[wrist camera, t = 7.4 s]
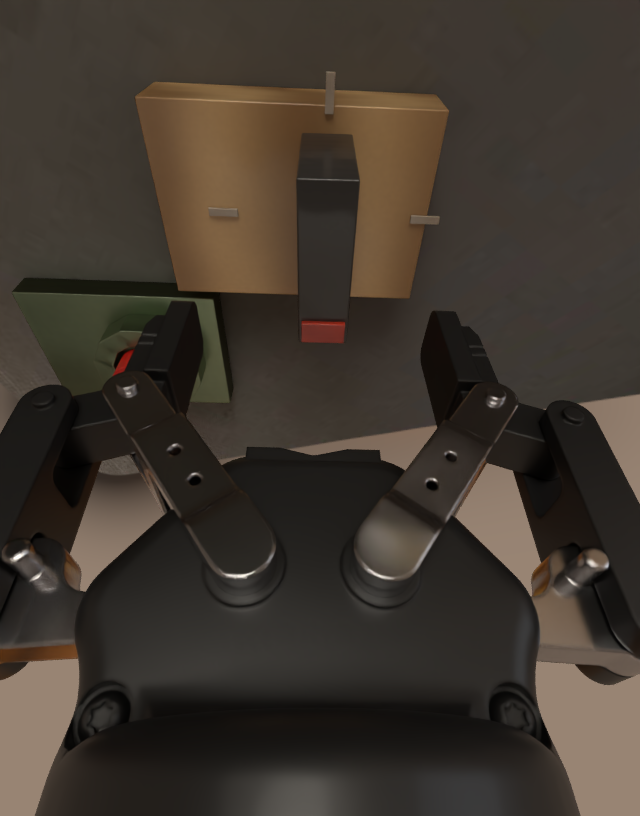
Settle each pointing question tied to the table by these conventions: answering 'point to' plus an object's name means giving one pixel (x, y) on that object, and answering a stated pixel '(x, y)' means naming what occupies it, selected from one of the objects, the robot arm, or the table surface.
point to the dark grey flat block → (325, 234)
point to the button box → (116, 329)
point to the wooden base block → (286, 180)
